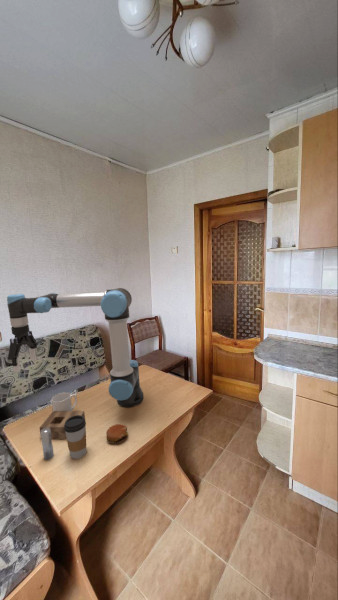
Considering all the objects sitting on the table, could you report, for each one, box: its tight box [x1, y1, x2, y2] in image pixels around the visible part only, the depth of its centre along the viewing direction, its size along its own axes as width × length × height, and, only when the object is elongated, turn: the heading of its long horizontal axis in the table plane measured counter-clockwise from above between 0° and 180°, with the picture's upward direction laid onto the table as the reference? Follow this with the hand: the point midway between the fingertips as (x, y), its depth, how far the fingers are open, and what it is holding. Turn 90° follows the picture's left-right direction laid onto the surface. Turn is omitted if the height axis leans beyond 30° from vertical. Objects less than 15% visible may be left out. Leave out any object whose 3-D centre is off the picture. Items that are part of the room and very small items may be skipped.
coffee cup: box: [64, 415, 87, 460], centre depth 102 cm, size 8×8×15 cm
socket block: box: [39, 410, 86, 440], centre depth 117 cm, size 16×12×6 cm
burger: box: [105, 423, 129, 444], centre depth 111 cm, size 10×9×5 cm
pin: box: [39, 427, 55, 461], centre depth 101 cm, size 4×4×12 cm
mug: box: [51, 391, 78, 412], centre depth 129 cm, size 12×9×11 cm
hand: (25, 365), depth 126 cm, fingers open, 13 cm apart
